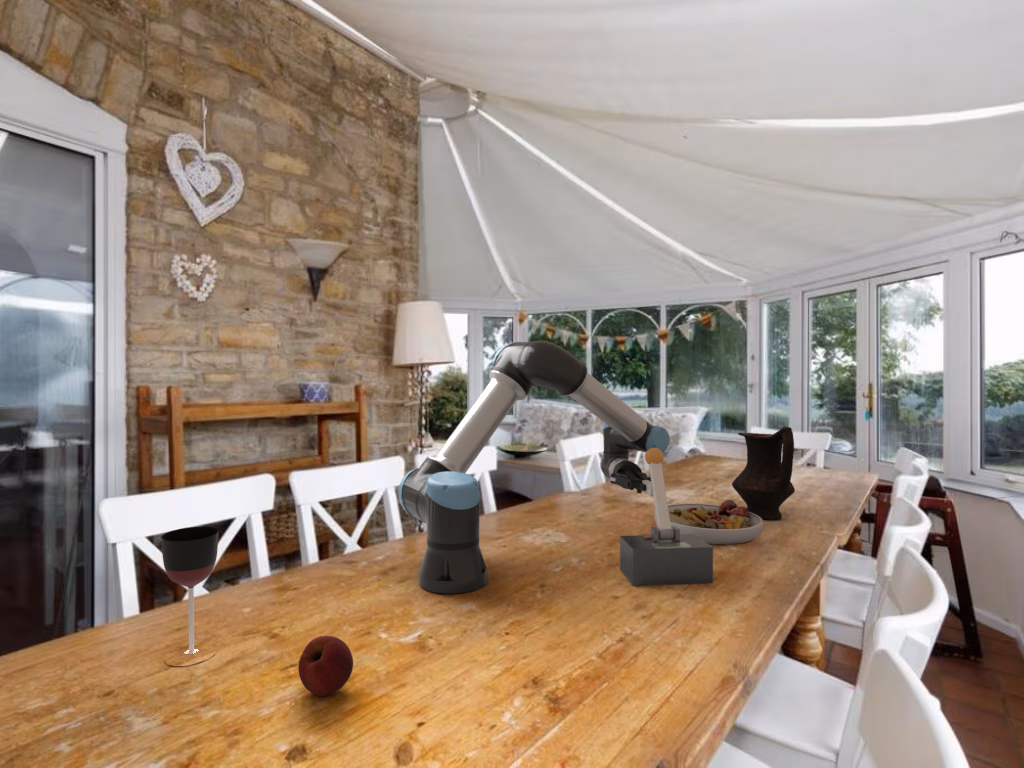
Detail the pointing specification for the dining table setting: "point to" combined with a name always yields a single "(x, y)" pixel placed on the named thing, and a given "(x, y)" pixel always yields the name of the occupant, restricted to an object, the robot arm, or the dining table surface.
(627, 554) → the switch box
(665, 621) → the dining table surface
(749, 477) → the jug
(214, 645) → the dining table surface
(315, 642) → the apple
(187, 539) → the wineglass
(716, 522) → the bowl
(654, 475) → the lever
